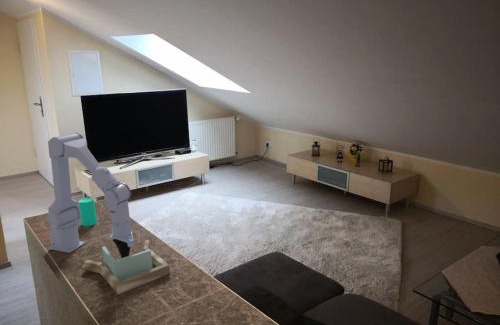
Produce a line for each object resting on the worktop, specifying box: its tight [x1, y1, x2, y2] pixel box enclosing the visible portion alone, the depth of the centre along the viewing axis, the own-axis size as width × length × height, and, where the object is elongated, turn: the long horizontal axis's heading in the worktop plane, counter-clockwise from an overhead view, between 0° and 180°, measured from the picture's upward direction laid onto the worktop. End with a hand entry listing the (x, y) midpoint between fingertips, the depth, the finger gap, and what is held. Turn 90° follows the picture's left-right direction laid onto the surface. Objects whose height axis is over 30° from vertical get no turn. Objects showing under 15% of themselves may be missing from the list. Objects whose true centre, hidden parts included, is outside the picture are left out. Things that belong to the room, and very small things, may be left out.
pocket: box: [84, 239, 171, 295], centre depth 123 cm, size 21×23×3 cm
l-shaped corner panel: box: [101, 245, 153, 281], centre depth 123 cm, size 12×12×8 cm
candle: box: [77, 197, 98, 227], centre depth 158 cm, size 6×6×12 cm
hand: (125, 258), depth 126 cm, fingers closed
